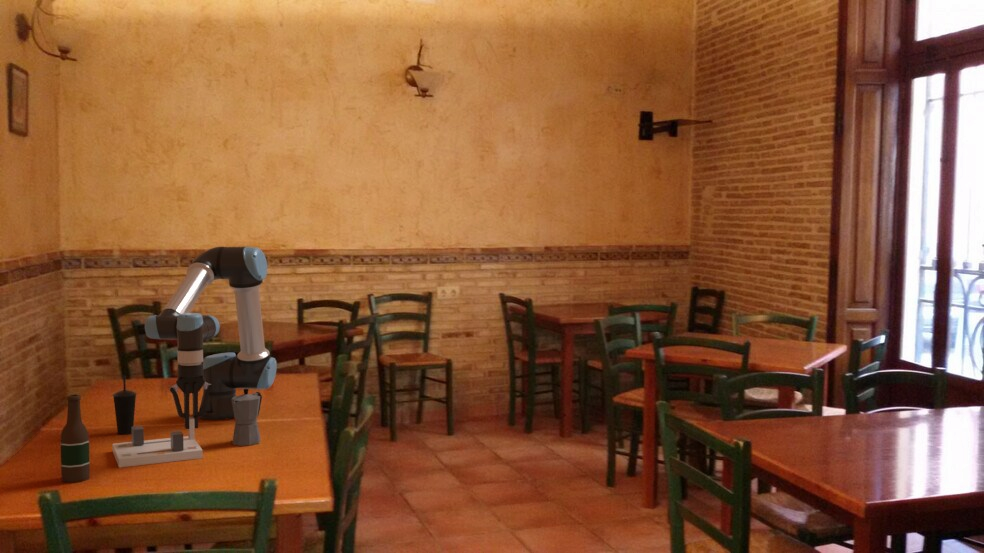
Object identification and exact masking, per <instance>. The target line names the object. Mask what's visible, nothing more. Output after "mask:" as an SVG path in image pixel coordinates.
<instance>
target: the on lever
mask: <svg viewBox="0 0 984 553" xmlns="http://www.w3.org/2000/svg"><path fill="white" fill-rule="evenodd" d="M144 433H145V432H144V427H143V425H133V426H132V433H131V442H132V443H133V445H134V446H135V445H144V441H145V439H144V438H145V434H144Z"/></svg>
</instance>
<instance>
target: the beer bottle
mask: <svg viewBox="0 0 984 553" xmlns="http://www.w3.org/2000/svg"><path fill="white" fill-rule="evenodd" d="M80 395H81V394H75V393H74V394H69V395H67V397H66V400H67V411H66V412H67V417H66V423H65V425H64V427H63V428H62V430H61V433H60V472H61V473H60V474H61V482H62V483H68V484H69V483H70V484H72V483H80V482H81V483H82V482H84V481H88V480H89V479H90V477H91V476H90V475H91V474H90V470H91V469H90V468H91V467H90V465H91V464H90V463H91V462H90V438H89V437H90V436H89V432H88V429H87V427H86V426H85V424H84V423H83V421H82V414H81V413H82V412H81V396H80Z"/></svg>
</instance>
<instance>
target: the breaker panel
mask: <svg viewBox="0 0 984 553" xmlns="http://www.w3.org/2000/svg"><path fill="white" fill-rule="evenodd" d="M203 452H204V450H203V449H202V447H201V446H200V444H199V443H198V442H197V441H196V438H195V439H194V440H189V438H188V435H187V436H184V435H183V450H179V451H173V450H172V448H171V437H167V438H155V439H147V440H145V439H144V445H135V446H134V445H133V443H132V441H126V442H118V443H112V453H113V455H114V456H113V457H114V458H115V461H116V463H117V466H118V468H120V469H121V468H125V467H126V468H127V467H137V466H144V465H146V466H147V465H153V464H163V463H172V462H180V461H187V460H188V461H191V460H198V459H199V460H200V459H203V458H204V453H203Z"/></svg>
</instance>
